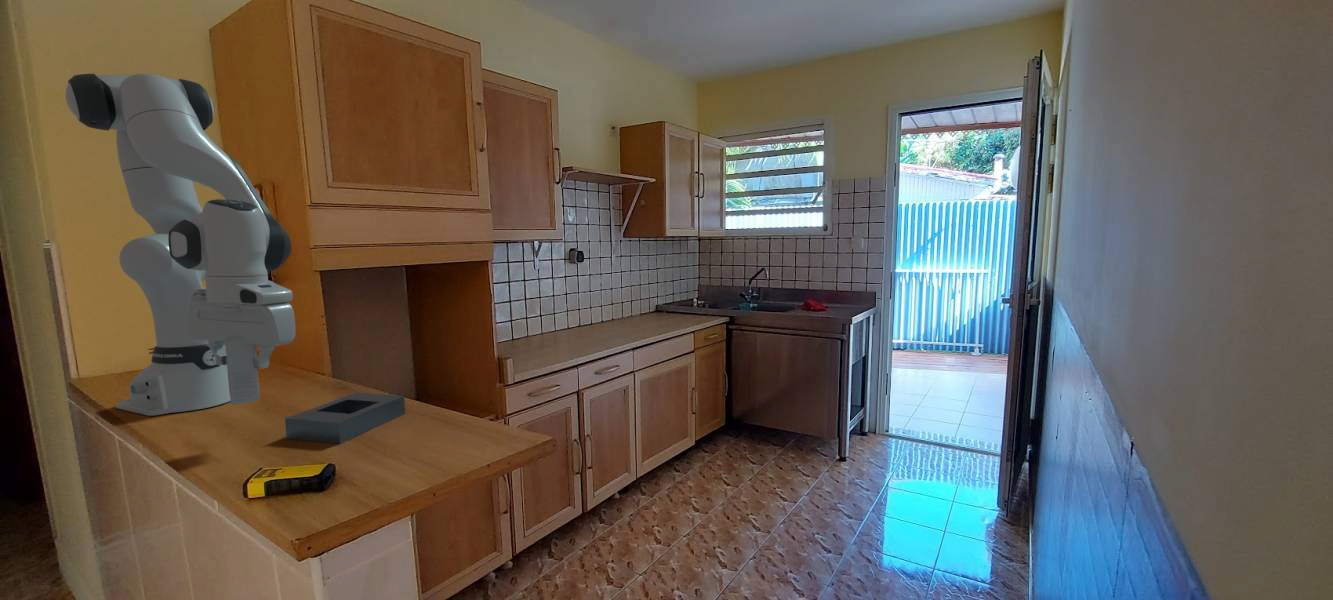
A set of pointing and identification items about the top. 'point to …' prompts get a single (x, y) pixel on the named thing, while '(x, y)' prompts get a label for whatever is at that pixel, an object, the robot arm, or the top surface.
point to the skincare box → (241, 371)
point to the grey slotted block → (344, 417)
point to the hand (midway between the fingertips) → (242, 366)
